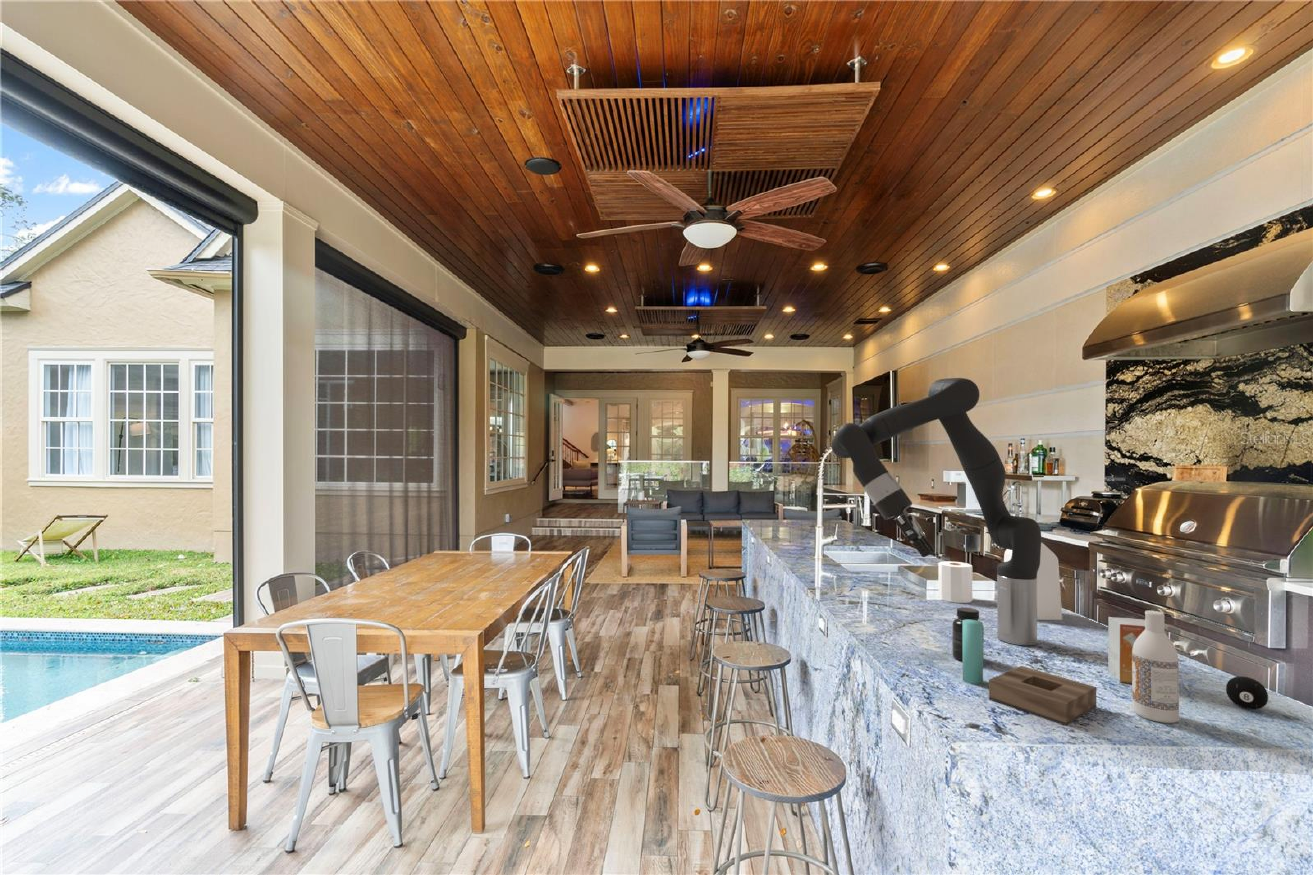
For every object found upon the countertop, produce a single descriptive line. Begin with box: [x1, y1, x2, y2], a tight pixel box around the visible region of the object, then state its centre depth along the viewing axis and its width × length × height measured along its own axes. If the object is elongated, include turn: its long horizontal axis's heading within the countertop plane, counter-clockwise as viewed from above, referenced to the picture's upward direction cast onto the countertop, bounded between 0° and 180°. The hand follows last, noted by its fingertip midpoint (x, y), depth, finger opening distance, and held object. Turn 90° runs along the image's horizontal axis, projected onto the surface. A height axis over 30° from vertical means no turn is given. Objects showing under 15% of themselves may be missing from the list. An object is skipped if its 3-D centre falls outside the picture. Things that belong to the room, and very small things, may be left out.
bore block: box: [988, 665, 1097, 726], centre depth 122 cm, size 14×14×4 cm
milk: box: [1003, 541, 1063, 621], centre depth 187 cm, size 12×12×26 cm
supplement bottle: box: [951, 607, 985, 662], centre depth 147 cm, size 7×7×12 cm
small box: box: [1107, 616, 1145, 684], centre depth 134 cm, size 8×6×13 cm
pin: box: [962, 619, 984, 685], centre depth 133 cm, size 4×4×13 cm
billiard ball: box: [1225, 676, 1269, 710], centre depth 120 cm, size 6×6×6 cm
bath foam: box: [1131, 610, 1180, 724], centre depth 116 cm, size 7×7×20 cm
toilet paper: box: [937, 560, 974, 604], centre depth 205 cm, size 10×10×12 cm
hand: (929, 554), depth 140 cm, fingers open, 8 cm apart
